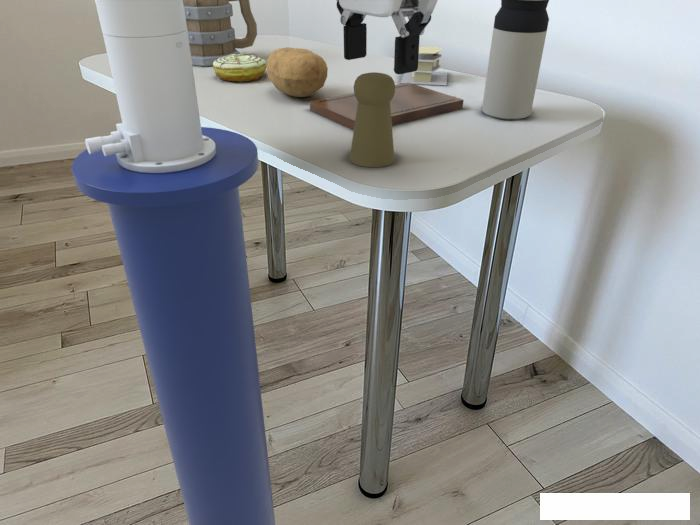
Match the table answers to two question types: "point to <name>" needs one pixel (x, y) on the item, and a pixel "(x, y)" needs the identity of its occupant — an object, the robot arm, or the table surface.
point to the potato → (296, 71)
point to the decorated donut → (239, 67)
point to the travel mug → (515, 58)
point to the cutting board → (404, 105)
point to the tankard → (215, 29)
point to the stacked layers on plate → (427, 68)
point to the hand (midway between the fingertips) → (379, 64)
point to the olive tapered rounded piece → (373, 121)
